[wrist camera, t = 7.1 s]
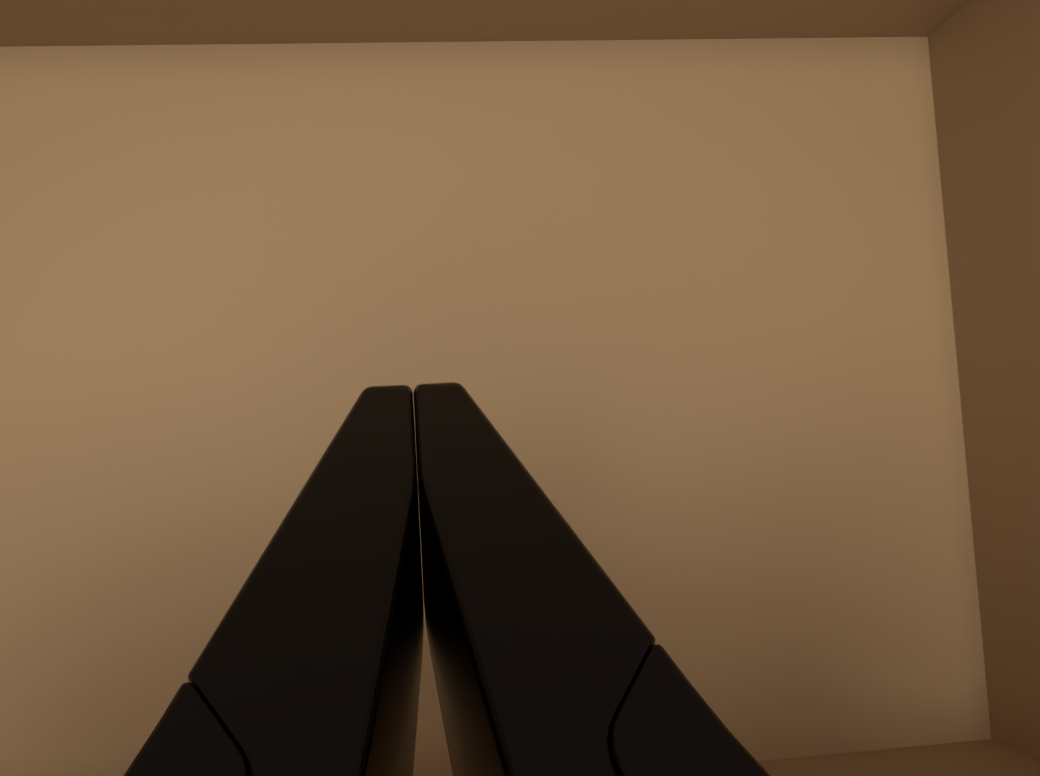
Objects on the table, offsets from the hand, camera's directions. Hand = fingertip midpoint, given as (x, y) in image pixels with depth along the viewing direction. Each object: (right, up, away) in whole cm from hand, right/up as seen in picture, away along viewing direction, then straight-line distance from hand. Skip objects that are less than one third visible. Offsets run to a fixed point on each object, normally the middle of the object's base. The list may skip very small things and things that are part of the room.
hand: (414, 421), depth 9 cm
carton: (-1, 0, +11) cm, 11 cm away
